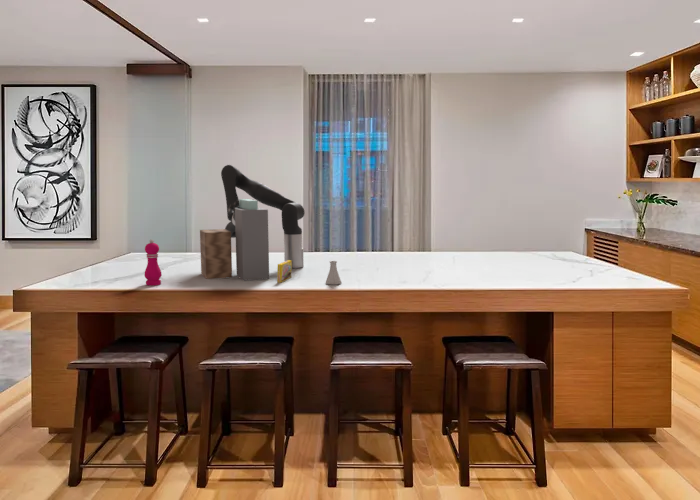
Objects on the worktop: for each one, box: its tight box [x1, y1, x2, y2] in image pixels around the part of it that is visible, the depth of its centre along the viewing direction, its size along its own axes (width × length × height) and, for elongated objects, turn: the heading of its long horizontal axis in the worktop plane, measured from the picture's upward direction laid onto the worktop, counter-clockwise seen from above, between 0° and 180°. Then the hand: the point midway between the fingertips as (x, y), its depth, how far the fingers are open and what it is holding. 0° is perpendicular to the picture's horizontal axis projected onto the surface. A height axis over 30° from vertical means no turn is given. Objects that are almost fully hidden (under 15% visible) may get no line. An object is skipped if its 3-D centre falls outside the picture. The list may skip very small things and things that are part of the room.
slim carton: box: [238, 198, 259, 210], centre depth 309 cm, size 4×22×4 cm, turn 21°
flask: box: [325, 260, 342, 286], centre depth 287 cm, size 7×7×10 cm
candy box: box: [276, 260, 292, 284], centre depth 299 cm, size 16×2×8 cm, turn 168°
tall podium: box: [235, 207, 270, 281], centre depth 305 cm, size 12×16×32 cm
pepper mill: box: [144, 239, 163, 287], centre depth 287 cm, size 7×7×20 cm
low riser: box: [199, 228, 233, 280], centre depth 311 cm, size 12×16×22 cm
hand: (245, 201), depth 314 cm, fingers open, 7 cm apart
